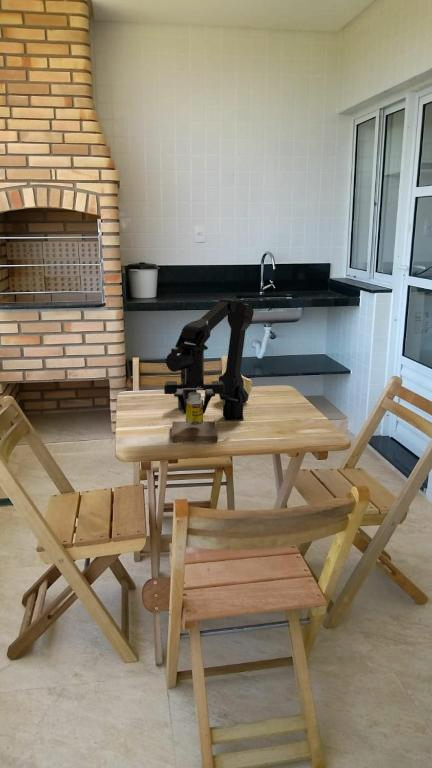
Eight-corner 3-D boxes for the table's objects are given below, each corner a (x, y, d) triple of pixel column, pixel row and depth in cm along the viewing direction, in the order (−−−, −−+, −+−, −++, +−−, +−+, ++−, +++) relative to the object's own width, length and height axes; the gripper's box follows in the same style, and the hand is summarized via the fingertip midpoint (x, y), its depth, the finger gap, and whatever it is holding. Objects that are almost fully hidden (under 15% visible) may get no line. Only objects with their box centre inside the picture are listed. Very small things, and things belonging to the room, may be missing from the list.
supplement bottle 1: (174, 409, 213) (174, 377, 210) (182, 404, 219) (182, 373, 216) (192, 412, 210) (192, 379, 207) (199, 406, 216) (199, 375, 213)
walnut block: (214, 426, 195) (215, 421, 194) (217, 441, 181) (217, 435, 181) (172, 427, 194) (172, 421, 194) (171, 442, 181) (171, 436, 180)
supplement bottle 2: (191, 428, 183) (191, 396, 180) (182, 423, 188) (182, 392, 185) (206, 425, 186) (206, 394, 183) (197, 420, 191) (197, 390, 188)
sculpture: (255, 400, 225) (256, 373, 222) (239, 408, 215) (240, 379, 213) (229, 395, 231) (230, 369, 228) (213, 403, 221) (213, 375, 219)
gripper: (222, 359, 190) (222, 405, 194) (164, 359, 189) (165, 406, 193) (225, 367, 179) (224, 416, 184) (163, 368, 178) (164, 416, 182)
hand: (194, 413), depth 186 cm, fingers closed on supplement bottle 2, 5 cm apart
